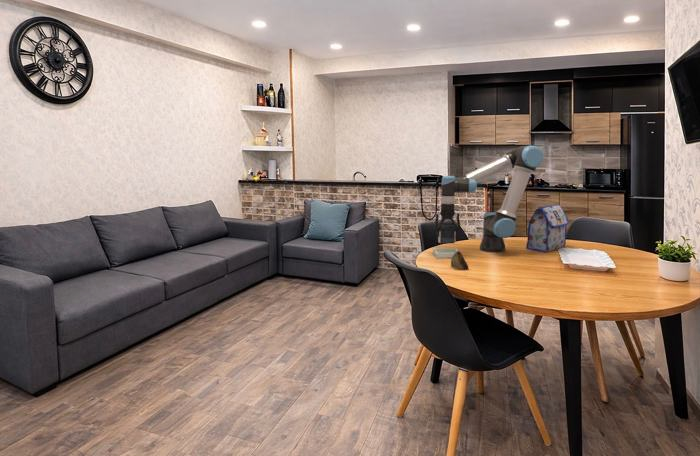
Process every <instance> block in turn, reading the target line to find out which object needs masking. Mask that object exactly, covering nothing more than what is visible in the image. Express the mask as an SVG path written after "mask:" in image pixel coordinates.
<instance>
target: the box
mask: <svg viewBox="0 0 700 456" xmlns="http://www.w3.org/2000/svg"><path fill="white" fill-rule="evenodd" d="M455 225H456V224H455ZM455 225H452V223H447V224H446V223H445V224H444V223H443V224H442V225H441V228H440V232H441V240H440V243H439V244H445V245H446V244H455V243H454V240H455V241H456V237H455Z"/></svg>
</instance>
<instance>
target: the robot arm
mask: <svg viewBox="0 0 700 456" xmlns="http://www.w3.org/2000/svg"><path fill="white" fill-rule="evenodd" d="M543 161H544V152H543V151H542V150H541V148H540V147H538V146H536V145H521V146H518V147H516V148H514V149H512V150H511V151H508V152H507V153H504V154H503V156H502V157H500V158H498V159H495V160H493V161H492V162H490V163H486V164H485V165H483V166H481V167H479V168H477V169H475V170H473V171H470V172H468V173H467V174H464V175H462V176H459V177H456V176H453V175H443V176H442V178H441V183H440V184H441V196H440V197H441V199H440V200H441V201H440V202H441V204H440V212H435V220H434V224H433V230H434V231H436V237H437V240H438V241H437V242H438V243H439V244H441V243H440V240H441V232H440V228H441V225H442V224H444V222H445V220H450V222H451V224H452V225H455V238H457V237H458V232H459V231H461V221H460V214H461V213H459V212H455V202H456V201H455V200H456V194H457V193H462V194H463V193H464V194H465V193H466V194H467V193H469V194H470V193H476V191H477V187H478V183H480V182H482V181H484V180H487V179H489V178H491V177H493V176H495V175H497V174H500V173H502V172H504V171H506V170H508V169H509V170H513V169H514V173H513V176H512V178H511V181H510V183H509V185H508V188H507V191H506V194H505V197H504V199H503V201H502V205H501V207H500V208H499V209H498V210H496V212H485V213H484V214H483V228H482V229H483V231H482V235H483V236H482V239H481V241H480V244H479V250H480V251H484V252H489V253H490V252H491V253H500V252H505V251H506V243H505V241H504V239H506V238H510V237H512V236H513V235H514V234H515V231H516V228H517V227H516V225H517V224H516V221H517V215H516V213H517V210H518V208H519V205H520V203H521V201H522V198H523V195H524V194H525V190H526V188H527V186H528V182H529V179H530V177H531V175H532V174H534V173H535V172H536V170H537V168H538V167H539V166H540V165H541V164H542V163H543ZM440 216H441V218H440V221H439V217H440ZM454 216H455V217H456V223H455V220H454ZM438 222H439V224H438ZM455 243H456V239H455V240H454V243H453V244H455Z"/></svg>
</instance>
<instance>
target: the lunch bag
mask: <svg viewBox="0 0 700 456" xmlns="http://www.w3.org/2000/svg"><path fill="white" fill-rule="evenodd" d="M567 225H569V219H568V217H567V215H566V213H565V211H564V209H563V207H562V206H561V204H554V205H553V204H551V205H545V206H539V207H538V208H536V209H535V210H534V213H533V215H531V217H530V220H529V223H528V228H527V242H526V246H525V247H526V250H527V251H528V250H529V251H535V252H536V251H537V252H539V253H544V254H546V253H549V252H551V251H554V250H558V249H562V248H565V247H566V245H567V243H566V241H567Z"/></svg>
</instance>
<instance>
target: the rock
mask: <svg viewBox="0 0 700 456" xmlns="http://www.w3.org/2000/svg"><path fill="white" fill-rule="evenodd" d="M461 253H462V252H461V251H460V250H459V251H458V252H456V253H455V254H454V255H453V257H452V259H451V260H450V265H451V267H454V268H456V269H458V270H463V271H469V270H470V269H469V265H468V263H467V261H466V259H465V257H464V256H463V254H461Z"/></svg>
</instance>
